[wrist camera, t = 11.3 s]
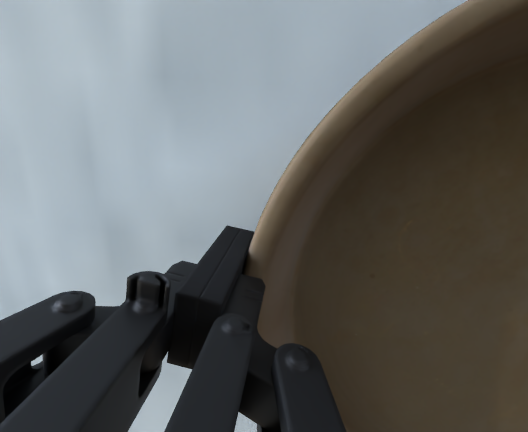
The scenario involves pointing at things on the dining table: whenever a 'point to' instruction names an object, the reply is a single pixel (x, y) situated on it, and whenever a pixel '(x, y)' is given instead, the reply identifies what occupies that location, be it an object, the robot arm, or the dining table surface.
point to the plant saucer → (413, 234)
